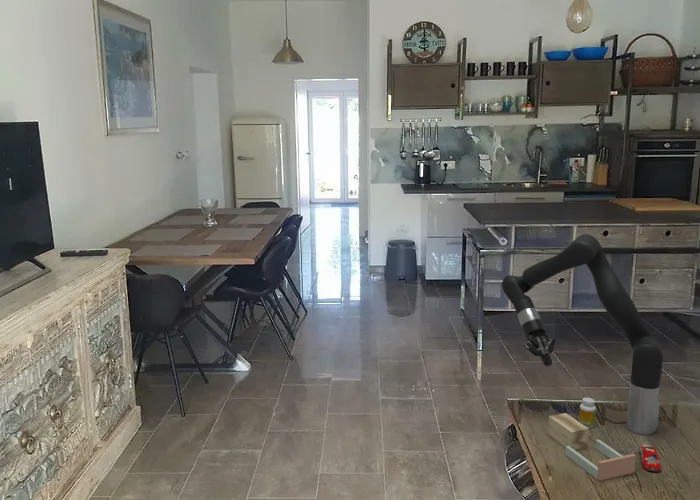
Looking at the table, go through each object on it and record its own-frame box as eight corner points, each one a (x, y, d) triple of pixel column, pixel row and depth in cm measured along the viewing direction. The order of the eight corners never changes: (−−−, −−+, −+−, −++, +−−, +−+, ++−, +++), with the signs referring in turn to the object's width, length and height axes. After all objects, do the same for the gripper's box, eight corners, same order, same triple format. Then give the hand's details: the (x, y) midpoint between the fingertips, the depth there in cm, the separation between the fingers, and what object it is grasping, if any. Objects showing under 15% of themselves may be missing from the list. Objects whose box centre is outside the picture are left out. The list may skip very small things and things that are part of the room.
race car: (661, 475, 186) (663, 464, 185) (642, 472, 188) (643, 460, 187) (656, 453, 198) (657, 442, 198) (638, 451, 200) (639, 440, 199)
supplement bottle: (593, 429, 214) (594, 404, 212) (577, 425, 217) (579, 401, 215) (595, 423, 219) (597, 398, 217) (580, 419, 222) (582, 395, 220)
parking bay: (598, 447, 202) (599, 431, 201) (634, 472, 187) (635, 455, 186) (565, 454, 198) (566, 438, 197) (599, 481, 183) (600, 463, 182)
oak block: (564, 431, 214) (565, 413, 212) (587, 447, 203) (588, 428, 201) (547, 434, 212) (548, 416, 210) (570, 451, 200) (571, 432, 199)
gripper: (520, 319, 219) (538, 363, 211) (550, 316, 224) (569, 359, 215) (511, 328, 225) (528, 371, 217) (540, 325, 230) (559, 367, 221)
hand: (549, 365), depth 216 cm, fingers closed
